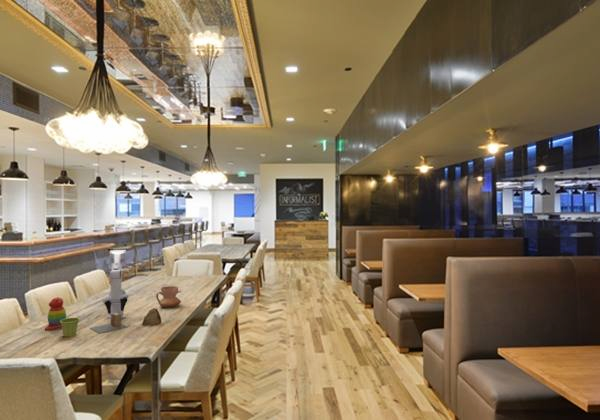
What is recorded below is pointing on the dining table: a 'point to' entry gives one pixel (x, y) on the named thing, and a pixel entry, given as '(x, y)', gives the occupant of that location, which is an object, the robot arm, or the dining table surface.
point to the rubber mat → (107, 328)
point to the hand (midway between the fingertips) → (115, 312)
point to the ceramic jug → (169, 296)
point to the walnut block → (116, 320)
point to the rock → (152, 317)
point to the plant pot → (69, 326)
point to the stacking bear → (55, 314)
